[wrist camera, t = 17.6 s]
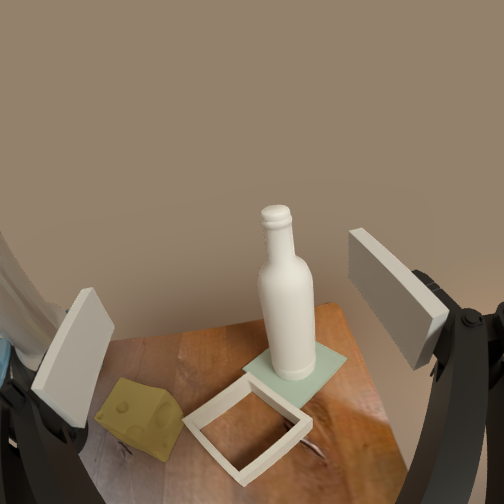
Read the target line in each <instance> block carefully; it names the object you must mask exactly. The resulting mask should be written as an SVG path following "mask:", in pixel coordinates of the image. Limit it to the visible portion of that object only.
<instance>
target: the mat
mask: <svg viewBox="0 0 504 504" xmlns="http://www.w3.org/2000/svg"><path fill="white" fill-rule="evenodd" d="M315 353H316V362H315V364H316V365H315V368H314V371H313V372H312V373H311V374H310V375H309V376H308V377H306V378H305V379H302V380H298V381H287V380H284V379H281V378H280V377H279V376H278V375H277V374H276V373H275V371H274V367H273V365H272V357H271V352H270V347H269V348H268V349H266V350H265V351H264V352H263V353H261V354H260V355H259V356H258V357H256V358H255V359H254V360H253V361H251V362H250V363H249V364H247V365H246V366H245V367H244V368H242V370H243V371H244V372H245V373H247V372H250V373H251V374H252V375H254V376H255V377H256V378H257V379H259V380H260V381H261V382H262V383H264V384H265V385H266V386H268V387H269V388H270V389H272V390H273V391H274V392H276V393H277V394H278V395H280V396H281V397H282V398H284V399H285V400H287V401H288V402H289V403H291V404H292V405H294V406H295V407H296V408H298V409H300V408H301V407H302V406H303V405H304V404H305V403H306V402H307V401H308V400H309V399H310V398H311V397H312V396H313V395H314V394H315V393H316V392H317V391H318V390H319V389H320V388H321V387H322V386H323V385H324V384H325V383H326V382H327V381H328V380H329V379H330V378H331V377H332V376H333V375H334V373H335V372H336V371H337V370H338V369H339V368H340V367H341V366H342V365H343V363H344V362H345V361H346V360H347V358H346V357H344V356H342V355H340V354H338V353H337V352H335V351H333V350H331V349H329V348H327V347H325V346H324V345H322V344H320V343H318V342H316V341H315Z"/></svg>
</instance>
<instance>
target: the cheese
mask: <svg viewBox="0 0 504 504" xmlns="http://www.w3.org/2000/svg"><path fill="white" fill-rule="evenodd" d="M183 418H185V416H184V414H183V411H182V409H181V408H180V406H179V404H178V403H177V401H176V400H175V399H174V397H173V396H172V395H171V394H170V393H169V392H168V391H167V390H165V389H161V388H156V387H150V386H146V385H143V384H140V383H137V382H134V381H131V380H128V379H126V378H123V377H120V379H119V380H118V381H117V383H116V384H115V386H114V388H113V389H112V391H111V393H110V394H109V396H108V398H107V399H106V401H105V402H104V404H103V405H102V407H101V408H100V410H99V411H98V412H97V414H96V415H95V417H94V419H95V420H96V421H97V422H98V423H99V424H101V425H102V426H103V427H104V428H106V429H107V430H108V431H109V432H110V433H112V434H113V435H114V436H115V437H116V438H118V439H119V440H121V441H122V442H124V443H126V444H128V445H130V446H132V447H134V448H136V449H138V450H142V451H144V452H146V453H148V454H149V455H151V456H153V457H155V458H157V459H159V460H161V461H162V462H165V463H166V462H167V461H168V459H169V456H170V453H171V451H172V448H173V446H174V444H175V442H176V440H177V438H178V436H179V434H180V432H181V430H182V428H183V426H184V422H183V421H182V419H183Z"/></svg>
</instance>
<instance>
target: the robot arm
mask: <svg viewBox="0 0 504 504" xmlns="http://www.w3.org/2000/svg"><path fill="white" fill-rule="evenodd" d="M348 275H349V279H350V280H351V282H352V283H353V284H354V286H355V287H356V288H357V290H358V291H359V292H360V294H361V295H362V296H363V298H364V299H365V301H366V302H367V303H368V305H369V306H370V308H371V309H372V310H373V312H374V313H375V315H376V316H377V317H378V319H379V320H380V322H381V323H382V325H383V326H384V327H385V329H386V330H387V332H388V333H389V335H390V336H391V338H392V339H393V341H394V342H395V344H396V345H397V346H398V348H399V349H400V351H401V352H402V354H403V356H404V357H405V359H406V360H407V362H408V363H409V365H410V366H411V368H412V369H413V371H414V370H416V369H418V368H420V367H422V366H424V365H426V364H428V363H429V361H430V359H431V357H432V354H434V355H435V356H436V358H437V361H436V363H435V365H434V368H433V370H432V372H431V374H430V376H432V375H433V374H434V377H433V383H432V388H431V394H430V399H429V404H428V408H427V413H426V416H425V421H424V424H423V428H422V432H421V435H420V439H419V442H418V445H417V449H416V452H415V455H414V458H413V461H412V464H411V467H410V469H409V472H408V474H407V477H406V480H405V482H404V484H403V487H402V489H401V492H400V494H399V496H398V498H397V501H396V503H395V504H468V501H469V498H470V495H471V492H472V488H473V485H474V481H475V477H476V474H477V469H478V465H479V461H480V455H481V451H482V445H483V438H484V432H485V424H486V434H487V457H488V458H487V488H486V500H485V504H504V302H502V303H500V304H499V305H498V307H497V310H496V312H495V313H494V314H488V315H483V316H482V315H481V313H479V312H478V311H476V310H474V309H471V308H464V309H461V307H460V306H459V305H457V303H456V302H455V301H453V299H451V297H449V295H448V294H446V292H444V290H442V289H440V287H439V286H438V285H437V284H436V283H434V281H433V280H432V279H431V278H430V277H429V276H428V275H426V274H425V273H422V272H420V271H418V270H414V271H410V270H409V269H408V268H407V267H406V266H404V265H403V264H402V263H401V262H400V261H399V260H398V259H397V258H396V257H395V256H394V255H392V254H391V253H390V252H389V251H388V250H387V249H386V248H385V247H384V246H383V245H381V244H380V243H379V242H378V241H377V240H376V239H374V238H373V237H372V236H371V235H370V234H369V233H367V232H366V231H365V230H364V229H363V228H359V229H355V230H350V231H349V274H348ZM114 328H115V326H114V324H113V323H112V321H111V319H110V317H109V316H108V314H107V312H106V311H105V309H104V307H103V305H102V304H101V302H100V300H99V298H98V296H97V294H96V292H95V290H94V288H93V287H91V288H86V289H82V290H81V292H80V293H79V295H78V297H77V299H76V300H75V302H74V303H73V305H72V307H71V309H68V310H66V311H64V310H63V309H62V308H61V307H60V306H58V305H56V304H54V303H49V302H46V301H45V300H44V299H43V297H42V296H41V295H40V293H39V292H38V291H37V289H36V288H35V286H34V285H33V284H32V282H31V281H30V280H29V278H28V276H27V275H26V274H25V272H24V271H23V269H22V268H21V266H20V264H19V263H18V261H17V260H16V258H15V257H14V255H13V253H12V252H11V250H10V248H9V247H8V245H7V243H6V242H5V240H4V238H3V236H2V234H1V232H0V334H1V335H2V336H3V337H4V338H0V504H106V503H105V501H104V500H103V498H102V497H101V495H100V493H99V492H98V490H97V489H96V487H95V485H94V483H93V482H92V480H91V478H90V476H89V475H88V473H87V471H86V469H85V467H84V465H83V463H82V461H81V459H80V457H79V455H78V453H79V452H80V451H81V450H82V448H83V447H84V445H85V442H86V440H87V435H88V423H87V420H86V419H87V415H88V411H89V407H90V404H91V400H92V396H93V392H94V389H95V385H96V382H97V379H98V375H99V372H100V370H101V369H102V367H103V359H104V356H105V353H106V350H107V347H108V344H109V342H110V338H111V336H112V333H113V330H114ZM11 344H12V345H11ZM9 438H10V439H12V440H13V441H14V442H15V443H17V448H15V447H14V446H12V445H11V444H10V443H9Z"/></svg>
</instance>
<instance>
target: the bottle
mask: <svg viewBox="0 0 504 504" xmlns="http://www.w3.org/2000/svg"><path fill="white" fill-rule="evenodd" d="M260 214H261V226H262V227H263V232H264V238H265V244H266V249H267V256H268V259H267V260H266V261H265V262H264V263H263V264H262V266H261V268H260V270H259V275H258V281H257V288H258V293H259V298H260V303H261V307H262V313H263V318H264V323H265V328H266V333H267V338H268V343H269V347H270V352H271V357H272V365H273V367H274V371H275V373H276V374H277V375H278V376H279V377H280V378H281V379H284V380H287V381H298V380H302V379H305V378H306V377H308V376H309V375H310V374H311V373H312V372H313V371H314V368H315V365H316V364H315V362H316V353H315V319H314V298H313V297H314V296H313V279H312V275H311V272H310V270H309V268H308V266H307V264H306V262H305V261H304V260H302V259H301V258H299V257H298V256H296V255H295V251H294V242H293V233H292V225H291V223H292V216H291V215H290V209H289V208H288V207H287V206H285V205H272V206H268V207H266V208H264V209H263V210H262V211H261V213H260Z"/></svg>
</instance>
